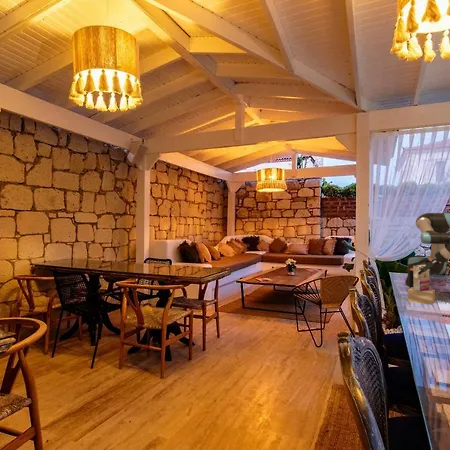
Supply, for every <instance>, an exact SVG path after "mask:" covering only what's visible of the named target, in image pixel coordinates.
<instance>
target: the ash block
mask: <svg viewBox="0 0 450 450" xmlns="http://www.w3.org/2000/svg"><path fill="white" fill-rule="evenodd" d="M407 294H408V295H407V302H409V303H415V304H423V305H431V306H432V305H433V304H434V303H435V301H436V300H435V299H436V295H435V294H436V289H429V290H424V291H416V290H414V287H411V288H410V289H409V288H408V290H407Z"/></svg>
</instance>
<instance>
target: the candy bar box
mask: <svg viewBox="0 0 450 450" xmlns="http://www.w3.org/2000/svg"><path fill="white" fill-rule="evenodd" d="M424 266H426V265H416V266H413V275H414V274H416V273H417V272H418V271H419V270H421V269H420V268H423V267H424ZM430 284H431V283H430V273H429V269H428V270H427V271H425V272H424V273H423V274H422V275H420V276H419V277H418V278H417V279H416V278H415V277H414V276H413V287H414V290H416V291H424V290H429V289H430V286H431V285H430Z"/></svg>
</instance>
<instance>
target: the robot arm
mask: <svg viewBox="0 0 450 450" xmlns="http://www.w3.org/2000/svg"><path fill="white" fill-rule="evenodd" d="M415 225H416V228H417V229H419V230H420V233H421V234H420V242H421V244H423V245H424V244H427V245H431V248H430V254H429V255H428V256H427V258H425V257H423V256H412V257H409V258H408V259H407V276H406V279H405V283H404V285H405V286H408V287H409V281H410V269H411V268H413V266H416V265H426V266H424V267H423V268H420V269H421V270H419V271H418V272H417V273H416V274H414V275H413V276H414V277H415V278H416V279H417V278H418V277H419V276H420V275H422V274H423V273H424V272H425V271H427V270H428V269H429V274H432V275H433V274H435V275H440V274H441V275H443V274H444V273H445V272H446V270H447V262H448V261H449V260H450V212H427V213H423V214H421V215H419V216H418V217H417V218H416V220H415Z"/></svg>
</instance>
